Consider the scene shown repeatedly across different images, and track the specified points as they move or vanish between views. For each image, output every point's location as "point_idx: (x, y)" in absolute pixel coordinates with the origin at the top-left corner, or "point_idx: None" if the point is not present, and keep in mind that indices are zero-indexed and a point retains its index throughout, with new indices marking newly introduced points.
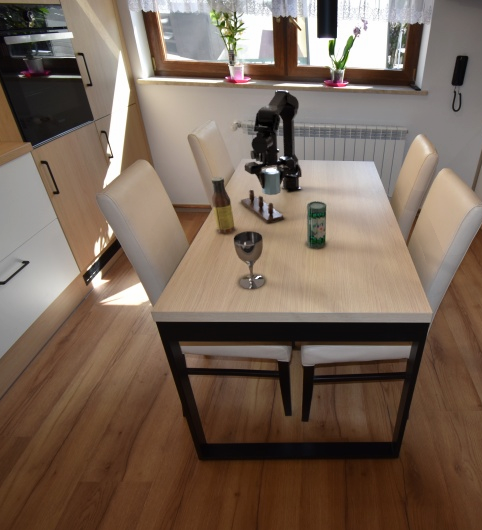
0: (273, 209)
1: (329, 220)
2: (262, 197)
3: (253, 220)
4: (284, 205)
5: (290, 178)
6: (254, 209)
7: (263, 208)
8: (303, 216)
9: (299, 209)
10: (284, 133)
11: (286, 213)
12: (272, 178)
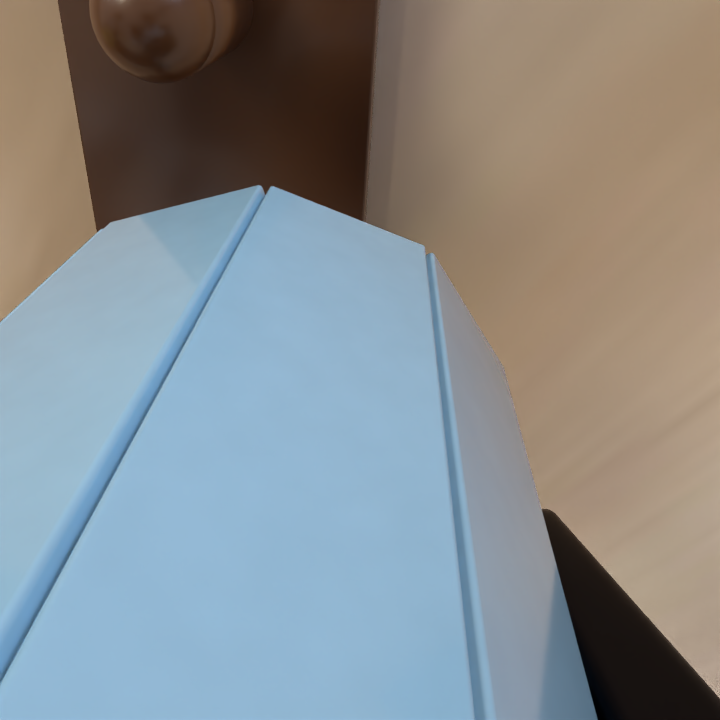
0: (352, 208)
1: (694, 639)
2: (181, 71)
3: (9, 221)
4: (680, 46)
5: None
6: (71, 4)
7: (231, 69)
8: (583, 470)
9: (714, 310)
10: None
11: (488, 305)
12: None
